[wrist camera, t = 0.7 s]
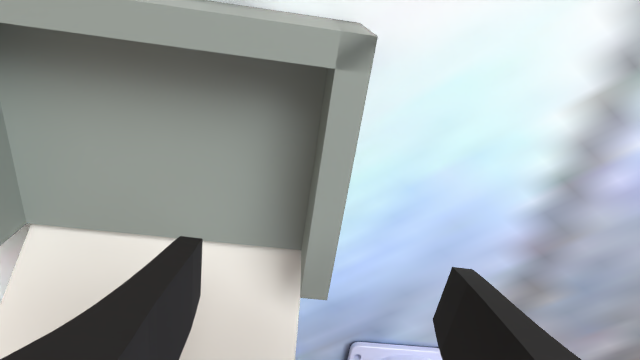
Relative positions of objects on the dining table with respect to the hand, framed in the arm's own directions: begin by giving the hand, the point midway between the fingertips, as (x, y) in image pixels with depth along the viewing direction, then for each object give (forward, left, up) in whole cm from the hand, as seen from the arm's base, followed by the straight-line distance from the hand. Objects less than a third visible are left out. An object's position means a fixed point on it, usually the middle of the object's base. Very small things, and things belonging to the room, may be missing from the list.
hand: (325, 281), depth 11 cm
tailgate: (-8, +7, -6) cm, 13 cm away
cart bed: (+1, +7, -10) cm, 12 cm away
